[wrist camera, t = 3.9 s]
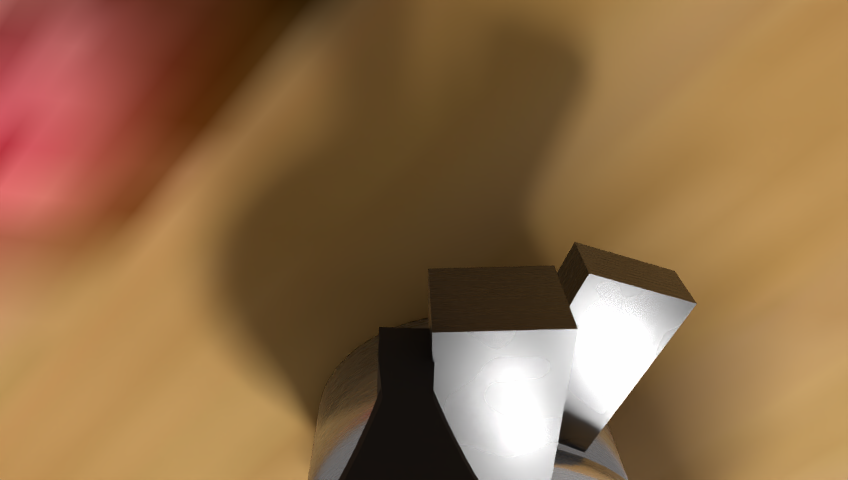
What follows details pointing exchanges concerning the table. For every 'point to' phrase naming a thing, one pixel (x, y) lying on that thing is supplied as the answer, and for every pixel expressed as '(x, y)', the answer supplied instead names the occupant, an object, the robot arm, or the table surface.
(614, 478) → the lid
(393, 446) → the robot arm
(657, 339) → the pot
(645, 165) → the table surface
